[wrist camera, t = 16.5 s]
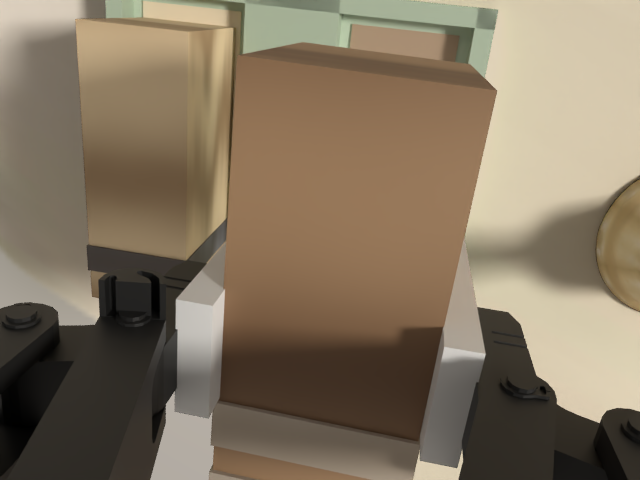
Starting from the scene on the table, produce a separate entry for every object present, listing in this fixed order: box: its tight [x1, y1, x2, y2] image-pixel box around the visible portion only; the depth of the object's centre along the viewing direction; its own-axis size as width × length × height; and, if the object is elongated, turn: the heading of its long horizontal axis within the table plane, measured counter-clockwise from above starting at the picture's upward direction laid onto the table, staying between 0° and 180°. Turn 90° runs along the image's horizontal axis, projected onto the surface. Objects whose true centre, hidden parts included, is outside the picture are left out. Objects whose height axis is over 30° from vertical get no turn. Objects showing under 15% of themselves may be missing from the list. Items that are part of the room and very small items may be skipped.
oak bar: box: [75, 17, 236, 298], centre depth 27 cm, size 12×5×6 cm, turn 174°
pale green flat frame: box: [105, 0, 498, 151], centre depth 29 cm, size 15×17×2 cm
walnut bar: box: [209, 42, 497, 480], centre depth 15 cm, size 12×5×6 cm, turn 173°
